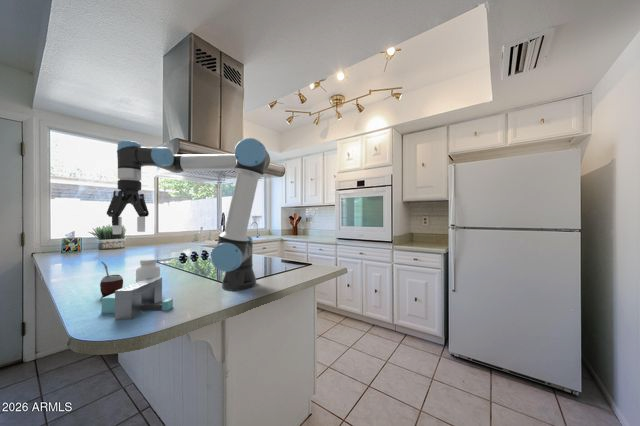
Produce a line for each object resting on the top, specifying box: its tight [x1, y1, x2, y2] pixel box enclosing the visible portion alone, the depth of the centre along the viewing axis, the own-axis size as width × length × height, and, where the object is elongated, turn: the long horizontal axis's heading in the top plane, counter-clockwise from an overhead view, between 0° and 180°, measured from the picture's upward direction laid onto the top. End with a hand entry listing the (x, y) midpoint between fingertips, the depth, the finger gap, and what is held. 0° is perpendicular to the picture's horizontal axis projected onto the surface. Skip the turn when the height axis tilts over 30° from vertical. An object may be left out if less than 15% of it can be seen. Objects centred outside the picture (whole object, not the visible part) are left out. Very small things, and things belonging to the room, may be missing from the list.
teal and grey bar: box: [100, 293, 174, 314], centre depth 84 cm, size 21×5×5 cm, turn 94°
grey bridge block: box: [114, 277, 163, 320], centre depth 84 cm, size 5×16×9 cm, turn 3°
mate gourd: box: [99, 261, 124, 299], centre depth 97 cm, size 8×8×15 cm
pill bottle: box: [135, 257, 161, 283], centre depth 97 cm, size 8×8×15 cm
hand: (130, 233), depth 96 cm, fingers open, 13 cm apart
